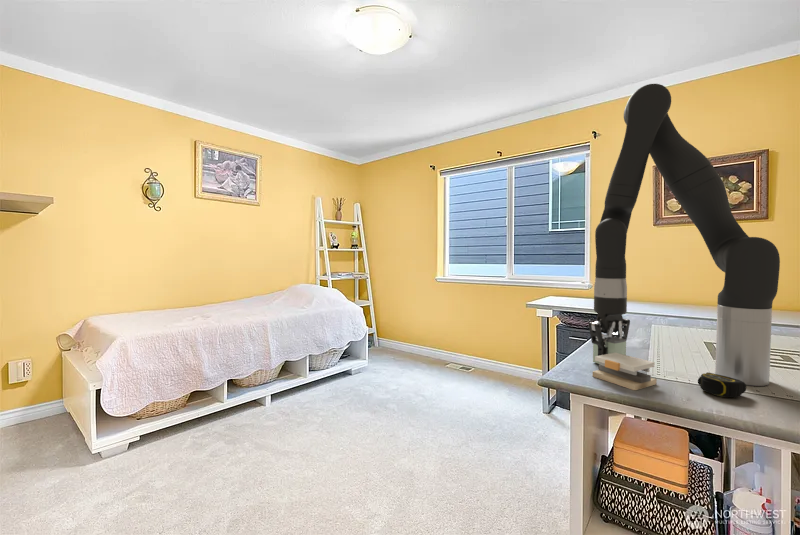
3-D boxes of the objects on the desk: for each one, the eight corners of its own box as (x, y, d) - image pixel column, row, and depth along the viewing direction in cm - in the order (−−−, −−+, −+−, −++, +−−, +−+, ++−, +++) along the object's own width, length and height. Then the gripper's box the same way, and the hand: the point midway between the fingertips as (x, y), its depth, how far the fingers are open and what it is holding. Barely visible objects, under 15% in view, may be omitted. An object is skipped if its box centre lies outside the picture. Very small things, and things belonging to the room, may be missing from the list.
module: (604, 359, 100) (604, 334, 100) (625, 365, 94) (626, 339, 94) (593, 362, 98) (593, 336, 98) (614, 368, 92) (614, 341, 92)
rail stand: (613, 371, 91) (613, 361, 91) (656, 384, 82) (656, 373, 82) (592, 376, 87) (592, 366, 87) (634, 390, 78) (634, 379, 78)
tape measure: (747, 397, 75) (748, 379, 75) (732, 403, 72) (733, 385, 72) (707, 386, 81) (708, 369, 81) (692, 391, 78) (692, 374, 78)
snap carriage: (614, 360, 90) (615, 352, 90) (654, 371, 82) (654, 362, 82) (592, 365, 87) (592, 356, 87) (631, 377, 78) (631, 367, 78)
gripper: (606, 298, 89) (605, 366, 90) (641, 294, 95) (640, 359, 96) (579, 295, 96) (578, 358, 96) (613, 292, 102) (612, 352, 103)
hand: (609, 358), depth 96 cm, fingers closed on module, 4 cm apart
